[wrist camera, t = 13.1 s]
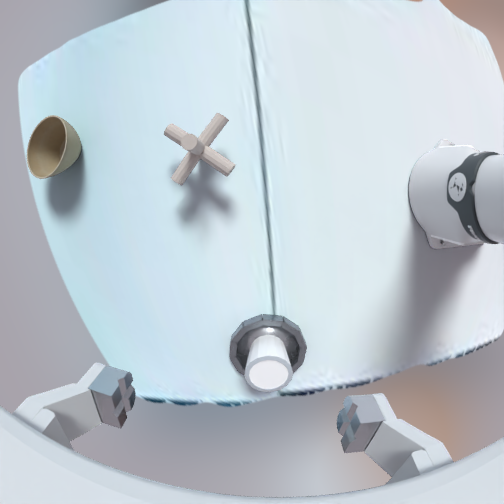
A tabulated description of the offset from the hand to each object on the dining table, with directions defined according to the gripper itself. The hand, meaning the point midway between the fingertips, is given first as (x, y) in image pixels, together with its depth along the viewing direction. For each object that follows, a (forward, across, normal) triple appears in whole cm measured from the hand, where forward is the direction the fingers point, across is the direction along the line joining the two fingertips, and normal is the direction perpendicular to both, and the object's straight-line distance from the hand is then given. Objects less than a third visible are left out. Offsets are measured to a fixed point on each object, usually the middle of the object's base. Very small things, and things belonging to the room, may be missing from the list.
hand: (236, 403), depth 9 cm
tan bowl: (+31, +33, -13) cm, 47 cm away
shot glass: (+31, -4, +17) cm, 35 cm away
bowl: (+31, -4, +17) cm, 36 cm away
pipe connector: (+31, +8, -12) cm, 34 cm away
